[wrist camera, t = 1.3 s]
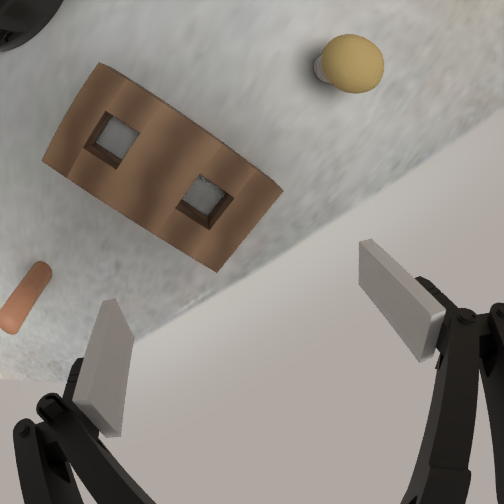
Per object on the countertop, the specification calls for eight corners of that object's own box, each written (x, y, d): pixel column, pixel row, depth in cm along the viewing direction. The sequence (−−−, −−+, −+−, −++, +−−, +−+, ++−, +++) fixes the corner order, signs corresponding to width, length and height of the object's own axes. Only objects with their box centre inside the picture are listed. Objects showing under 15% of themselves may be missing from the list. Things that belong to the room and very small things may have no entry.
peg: (31, 273, 37) (-6, 324, 26) (37, 257, 36) (-2, 307, 26) (48, 285, 38) (16, 338, 28) (55, 269, 38) (20, 321, 27)
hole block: (57, 153, 31) (41, 160, 27) (110, 66, 28) (99, 62, 24) (214, 255, 41) (217, 272, 37) (274, 181, 38) (283, 190, 34)
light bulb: (345, 99, 34) (390, 101, 26) (297, 87, 33) (331, 82, 24) (353, 53, 32) (399, 43, 23) (305, 38, 30) (341, 20, 22)
